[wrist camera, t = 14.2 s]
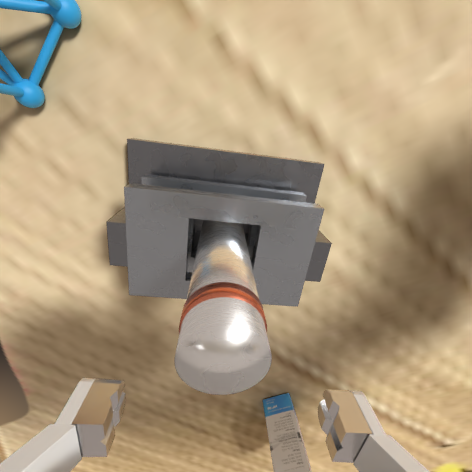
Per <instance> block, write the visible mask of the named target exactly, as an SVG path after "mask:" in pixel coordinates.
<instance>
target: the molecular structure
mask: <svg viewBox="0 0 472 472" xmlns="http://www.w3.org/2000/svg"><path fill="white" fill-rule="evenodd" d="M44 1H45V2H43V1H36V0H0V8H4V9H12V10H20V11H28V12H36V13H44V14H51V16H52V17H53V19H54V21H53V23H52V26H51V28H50V30H49V33H48V35H47V37H46V40H45V42H44V44H43V47H42V49H41V51H40V54H39V56H38V58H37V61H36V63H35V66H34V68H33V70H32V73H31V75H30V77H29V80H28V79H22V77H21V76H20V75H19V73H18V72H17V71H16V69H15V68H14V67H13V65H12V64H11V63H10V61H9V60H8V59H7V57H6V56H5V55H4V53H3V52H2V51H1V49H0V65H1V66H2V67H3V69H4V70H5V71H6V72H7V73H6V72H4V71H3V70H1V69H0V79H1V80H3V81H4V82H6V83H7V84H8V85H6V84H2V83H0V93H2V94H8V95H13V96H14V97H15V99H16V100H17V101H18V102H19V103H20V104H22V105H24V106H26V107H29V108H37V107H40V106H41V105H42V104H43V103H44V101H45V95H44V92H43V90H42V89H41V87H40V86H39V83H40V81H41V78H42V76H43V74H44V72H45V69H46V67H47V65H48V63H49V60H50V58H51V56H52V54H53V51H54V49H55V47H56V44H57V42H58V40H59V38H60V35H61V33H62V31H63V29H64V27H65V28H68V29H73V28H76V27H77V26H78V25H79V24H80V22H81V11H80V8H79V6H78V4H77V3H76V1H75V0H44Z"/></svg>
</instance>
